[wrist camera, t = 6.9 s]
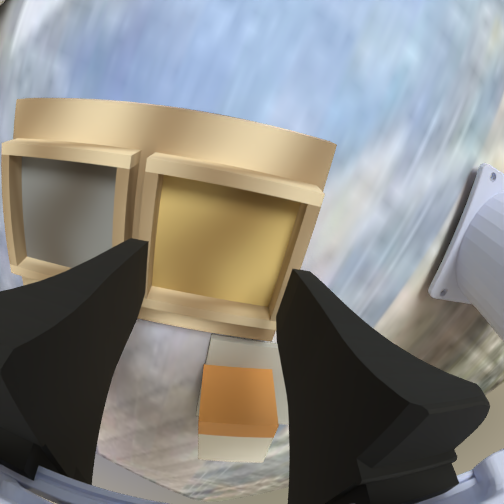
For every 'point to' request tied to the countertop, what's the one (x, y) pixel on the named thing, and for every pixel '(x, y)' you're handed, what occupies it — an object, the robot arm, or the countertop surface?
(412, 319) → the countertop surface
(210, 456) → the cube with grey knob
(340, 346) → the robot arm
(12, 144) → the socket block
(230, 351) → the mat
